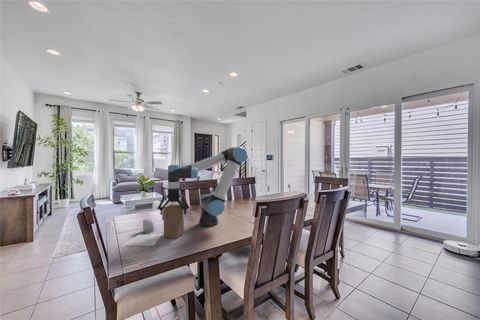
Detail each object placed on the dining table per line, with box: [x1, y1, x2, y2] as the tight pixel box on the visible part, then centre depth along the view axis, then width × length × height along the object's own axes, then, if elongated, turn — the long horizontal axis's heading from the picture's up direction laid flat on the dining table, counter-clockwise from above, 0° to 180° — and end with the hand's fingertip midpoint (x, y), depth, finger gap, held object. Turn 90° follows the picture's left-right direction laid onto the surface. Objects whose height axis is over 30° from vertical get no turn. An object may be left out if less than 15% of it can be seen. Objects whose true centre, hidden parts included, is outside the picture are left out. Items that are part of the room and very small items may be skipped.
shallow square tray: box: [125, 233, 163, 247], centre depth 129 cm, size 16×16×1 cm
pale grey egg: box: [142, 218, 155, 234], centre depth 144 cm, size 7×7×8 cm
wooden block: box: [163, 203, 185, 239], centre depth 137 cm, size 10×10×20 cm
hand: (173, 219), depth 136 cm, fingers open, 13 cm apart
